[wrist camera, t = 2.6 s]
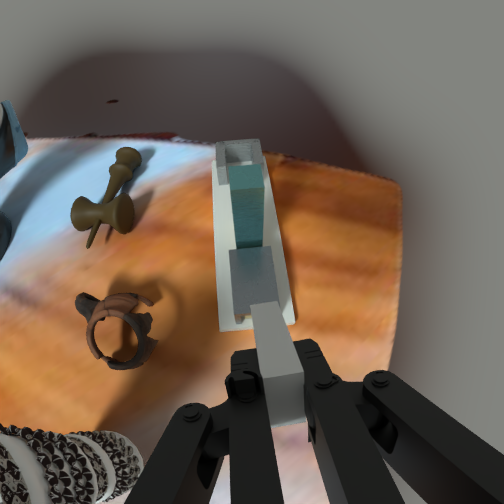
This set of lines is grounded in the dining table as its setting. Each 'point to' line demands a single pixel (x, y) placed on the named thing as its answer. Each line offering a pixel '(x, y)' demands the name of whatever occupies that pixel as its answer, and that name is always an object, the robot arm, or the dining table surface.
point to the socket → (237, 155)
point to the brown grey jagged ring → (121, 308)
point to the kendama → (109, 199)
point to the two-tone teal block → (247, 205)
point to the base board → (226, 242)
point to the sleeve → (252, 279)
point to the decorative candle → (65, 466)
